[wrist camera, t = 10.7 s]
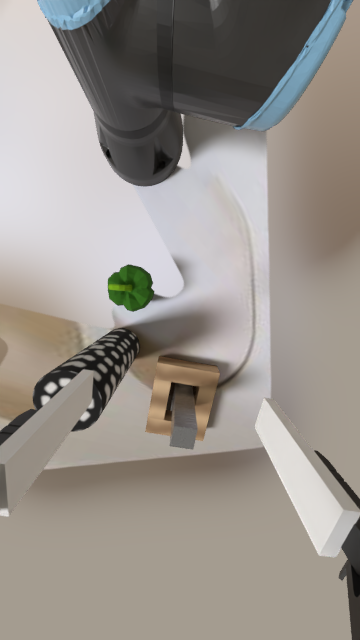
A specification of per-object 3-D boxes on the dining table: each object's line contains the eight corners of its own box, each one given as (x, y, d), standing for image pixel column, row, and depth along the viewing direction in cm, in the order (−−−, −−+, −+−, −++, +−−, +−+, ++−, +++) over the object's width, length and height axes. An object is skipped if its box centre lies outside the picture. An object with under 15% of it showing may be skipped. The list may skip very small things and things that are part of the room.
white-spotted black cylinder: (147, 346, 40) (116, 403, 21) (122, 368, 41) (71, 443, 22) (121, 321, 39) (63, 356, 20) (96, 344, 40) (18, 400, 21)
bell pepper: (164, 279, 37) (158, 276, 28) (148, 312, 39) (137, 321, 29) (128, 260, 37) (110, 251, 27) (113, 295, 38) (91, 298, 28)
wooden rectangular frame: (159, 356, 41) (157, 362, 37) (216, 366, 41) (220, 373, 38) (148, 420, 44) (145, 431, 41) (201, 429, 45) (203, 440, 41)
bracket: (175, 380, 42) (174, 425, 28) (191, 382, 42) (197, 429, 29) (170, 405, 43) (166, 460, 30) (186, 407, 44) (189, 463, 30)
